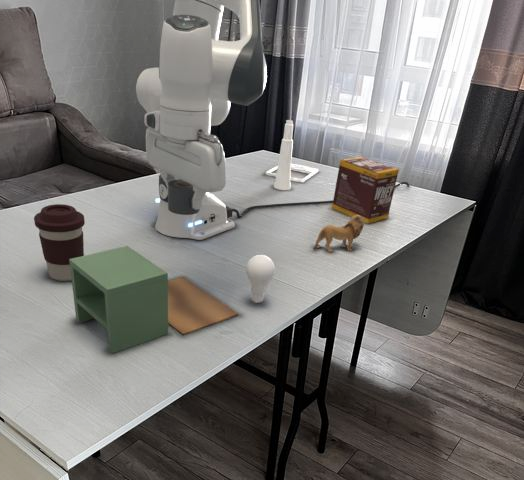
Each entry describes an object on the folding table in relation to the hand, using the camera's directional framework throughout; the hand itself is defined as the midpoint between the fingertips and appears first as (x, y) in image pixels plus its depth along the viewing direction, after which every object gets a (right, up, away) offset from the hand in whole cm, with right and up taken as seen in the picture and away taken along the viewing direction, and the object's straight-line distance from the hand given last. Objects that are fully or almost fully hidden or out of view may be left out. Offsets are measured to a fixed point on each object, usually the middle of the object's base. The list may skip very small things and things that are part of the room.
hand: (183, 202), depth 102 cm
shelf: (-13, -24, +3) cm, 27 cm away
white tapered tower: (+22, +28, +86) cm, 93 cm away
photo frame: (+26, +39, +102) cm, 112 cm away
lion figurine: (+35, 0, +46) cm, 58 cm away
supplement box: (+46, +16, +71) cm, 86 cm away
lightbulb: (+14, -18, +16) cm, 28 cm away
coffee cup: (-29, -11, +19) cm, 36 cm away
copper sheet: (-2, -18, +12) cm, 22 cm away
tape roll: (0, -1, +1) cm, 1 cm away
